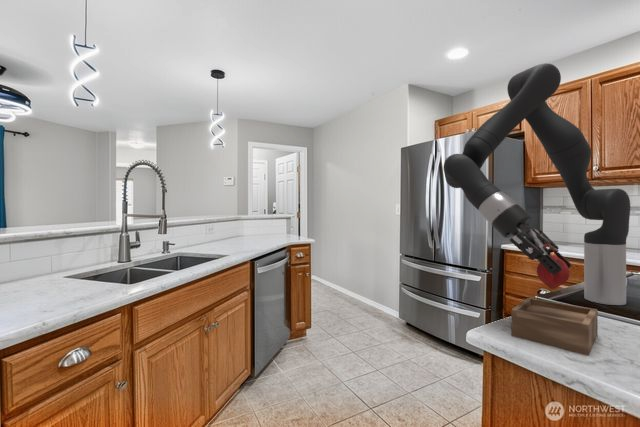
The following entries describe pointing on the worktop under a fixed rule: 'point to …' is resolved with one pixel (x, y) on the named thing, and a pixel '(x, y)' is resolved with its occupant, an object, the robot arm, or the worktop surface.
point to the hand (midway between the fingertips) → (563, 270)
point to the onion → (549, 278)
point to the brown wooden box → (555, 324)
